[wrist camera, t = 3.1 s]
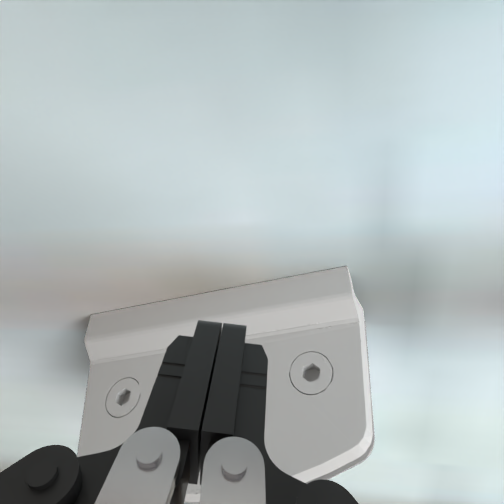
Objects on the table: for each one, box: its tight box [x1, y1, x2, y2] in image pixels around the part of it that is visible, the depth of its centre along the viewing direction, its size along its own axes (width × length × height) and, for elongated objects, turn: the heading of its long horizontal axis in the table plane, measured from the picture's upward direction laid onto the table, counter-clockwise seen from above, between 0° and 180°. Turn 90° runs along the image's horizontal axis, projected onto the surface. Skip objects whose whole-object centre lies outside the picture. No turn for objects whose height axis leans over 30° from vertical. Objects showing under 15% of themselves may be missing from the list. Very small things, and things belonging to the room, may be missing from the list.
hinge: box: [77, 266, 375, 504], centre depth 20 cm, size 17×5×10 cm, turn 107°
